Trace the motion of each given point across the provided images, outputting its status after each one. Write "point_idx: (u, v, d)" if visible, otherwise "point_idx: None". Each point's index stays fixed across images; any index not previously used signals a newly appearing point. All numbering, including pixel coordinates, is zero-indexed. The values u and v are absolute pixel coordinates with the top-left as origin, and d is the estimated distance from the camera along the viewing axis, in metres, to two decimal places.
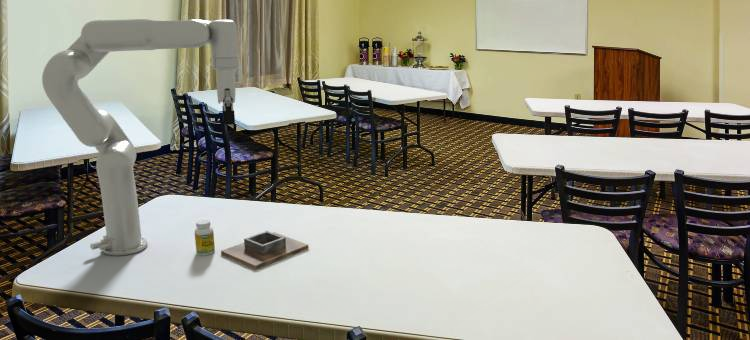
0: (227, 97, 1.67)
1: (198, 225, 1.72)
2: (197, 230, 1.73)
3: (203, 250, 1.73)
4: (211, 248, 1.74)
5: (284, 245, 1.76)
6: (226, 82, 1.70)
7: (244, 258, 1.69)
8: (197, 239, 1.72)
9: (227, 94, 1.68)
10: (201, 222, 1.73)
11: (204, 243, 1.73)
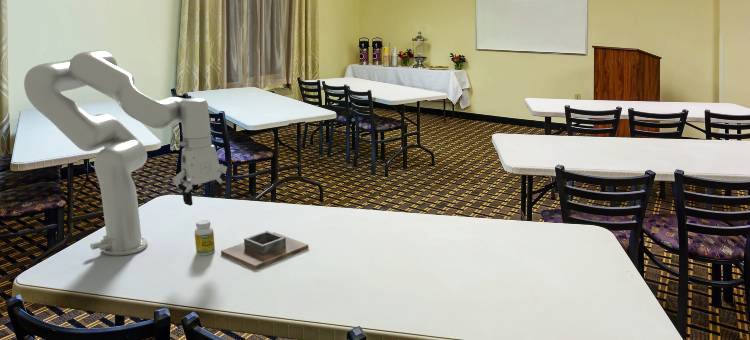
0: None
1: (198, 225, 1.72)
2: (197, 230, 1.73)
3: (203, 250, 1.73)
4: (211, 248, 1.74)
5: (284, 245, 1.76)
6: None
7: (244, 258, 1.69)
8: (197, 239, 1.72)
9: (221, 165, 1.75)
10: (201, 222, 1.73)
11: (204, 243, 1.73)
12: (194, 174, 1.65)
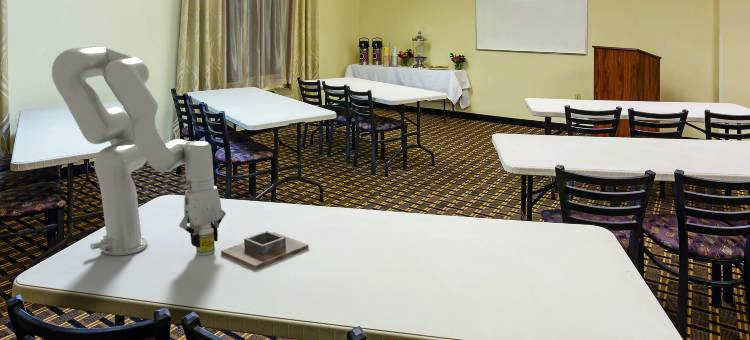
0: None
1: None
2: None
3: (203, 250, 1.73)
4: (211, 248, 1.74)
5: (284, 245, 1.76)
6: None
7: (244, 258, 1.69)
8: None
9: None
10: None
11: (204, 243, 1.73)
12: (196, 216, 1.68)
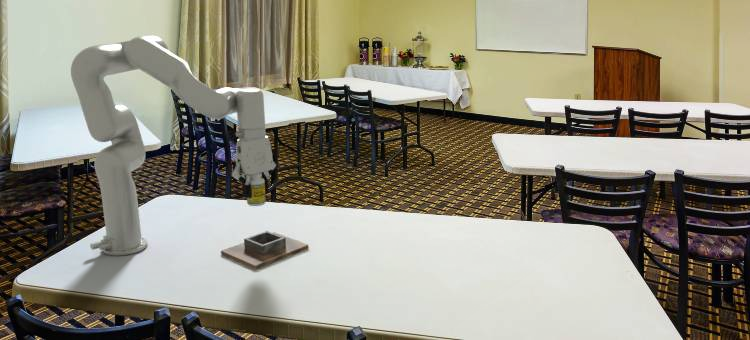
0: None
1: None
2: None
3: (255, 201, 1.70)
4: (263, 199, 1.71)
5: (284, 245, 1.76)
6: None
7: (244, 258, 1.69)
8: None
9: None
10: None
11: (256, 193, 1.69)
12: (249, 165, 1.65)
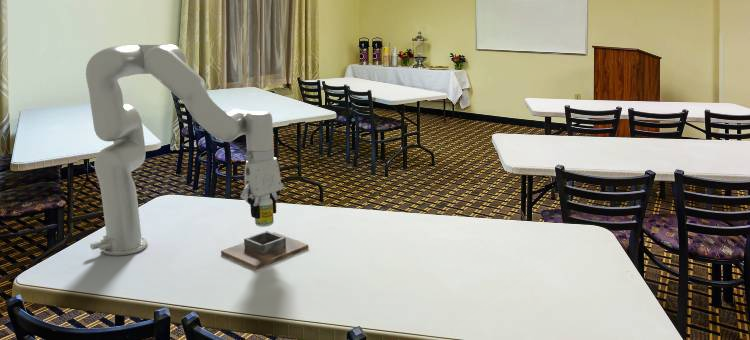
0: None
1: None
2: None
3: (263, 221, 1.71)
4: (271, 220, 1.73)
5: (284, 245, 1.76)
6: None
7: (244, 258, 1.69)
8: None
9: None
10: None
11: (264, 214, 1.71)
12: (258, 186, 1.67)
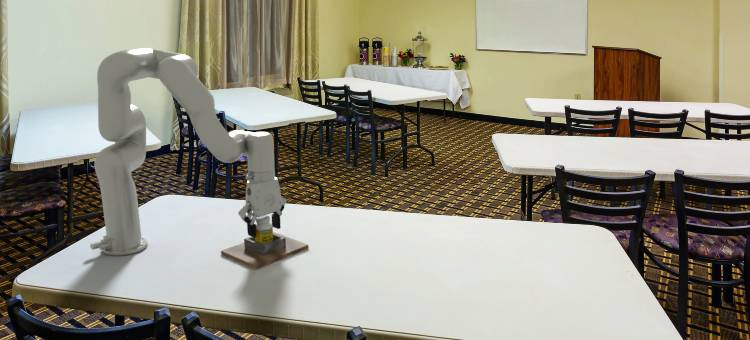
0: None
1: (258, 220, 1.72)
2: (257, 225, 1.73)
3: None
4: None
5: (284, 245, 1.76)
6: None
7: (244, 258, 1.69)
8: (257, 235, 1.73)
9: (281, 197, 1.78)
10: (261, 217, 1.73)
11: (264, 238, 1.73)
12: (258, 207, 1.68)
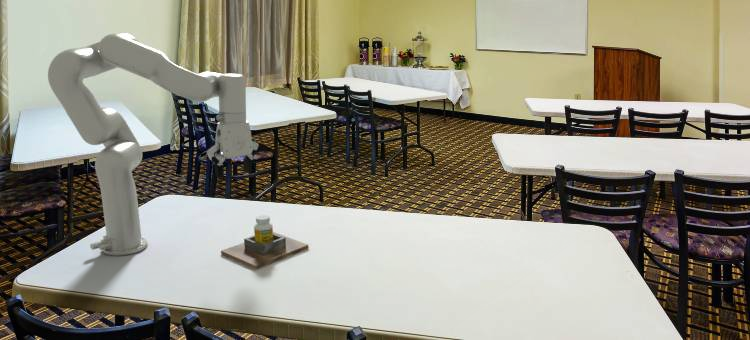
0: None
1: (258, 220, 1.72)
2: (257, 225, 1.73)
3: None
4: None
5: (284, 245, 1.76)
6: None
7: (244, 258, 1.69)
8: (257, 235, 1.73)
9: (253, 141, 1.78)
10: (261, 217, 1.73)
11: (264, 238, 1.73)
12: (228, 148, 1.68)
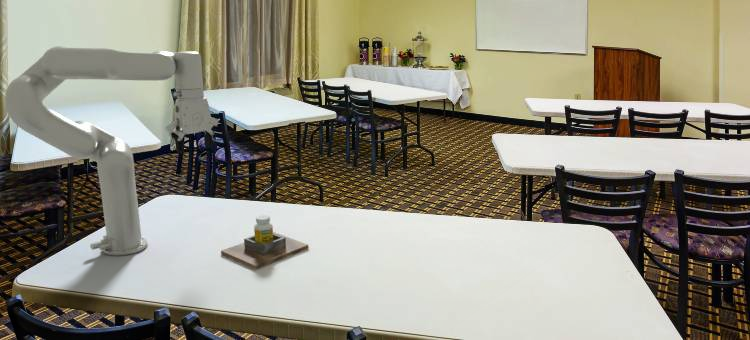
0: None
1: (258, 220, 1.72)
2: (257, 225, 1.73)
3: None
4: None
5: (284, 245, 1.76)
6: None
7: (244, 258, 1.69)
8: (257, 235, 1.73)
9: None
10: (261, 217, 1.73)
11: (264, 238, 1.73)
12: (186, 123, 1.73)
